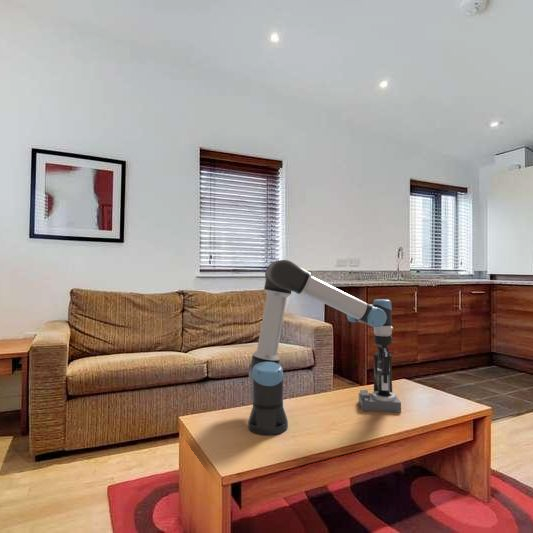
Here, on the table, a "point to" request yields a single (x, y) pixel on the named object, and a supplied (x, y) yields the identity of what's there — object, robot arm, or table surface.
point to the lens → (380, 391)
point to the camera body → (379, 402)
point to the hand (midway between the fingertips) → (383, 388)
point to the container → (377, 372)
